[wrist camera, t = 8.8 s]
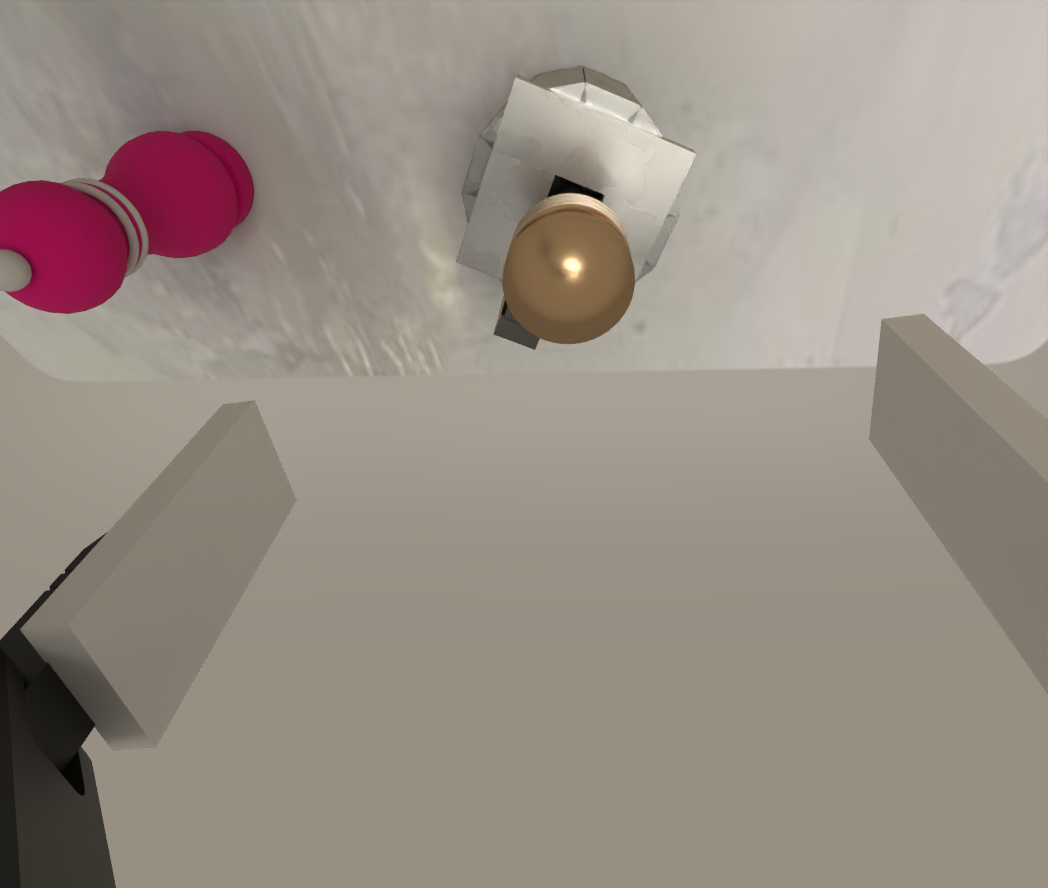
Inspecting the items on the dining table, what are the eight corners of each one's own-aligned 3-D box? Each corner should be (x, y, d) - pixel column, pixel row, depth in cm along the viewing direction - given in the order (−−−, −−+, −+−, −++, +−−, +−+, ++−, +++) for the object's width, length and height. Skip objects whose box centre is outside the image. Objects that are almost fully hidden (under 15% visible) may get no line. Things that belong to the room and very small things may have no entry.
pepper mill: (246, 254, 48) (68, 382, 31) (144, 205, 47) (-101, 311, 30) (274, 156, 45) (90, 240, 28) (164, 100, 43) (-100, 152, 26)
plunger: (492, 207, 41) (434, 338, 24) (535, 80, 38) (502, 130, 21) (603, 251, 42) (622, 406, 25) (655, 131, 39) (718, 219, 22)
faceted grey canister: (458, 246, 47) (418, 325, 35) (525, 40, 40) (503, 49, 28) (593, 298, 48) (600, 391, 36) (679, 106, 42) (721, 142, 30)
